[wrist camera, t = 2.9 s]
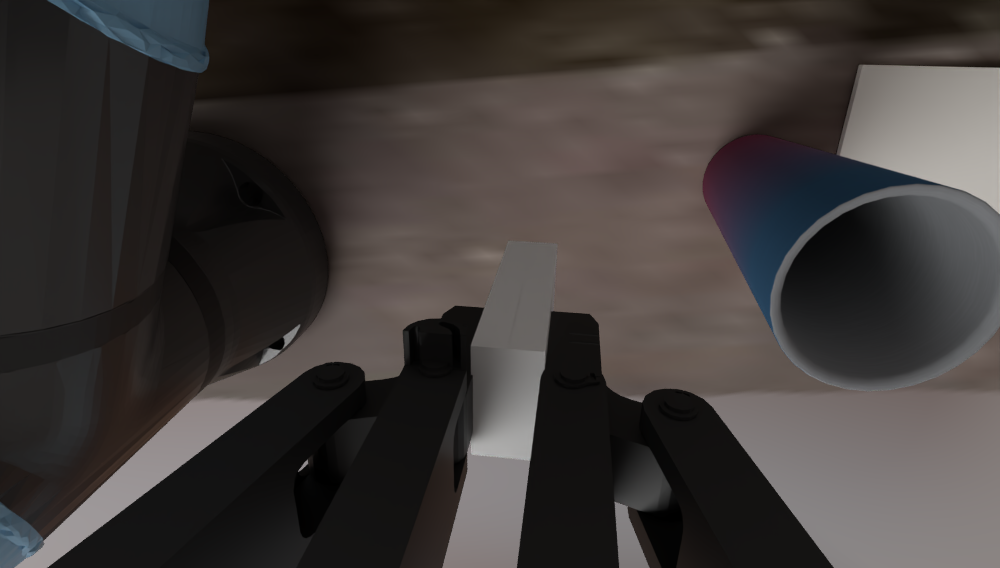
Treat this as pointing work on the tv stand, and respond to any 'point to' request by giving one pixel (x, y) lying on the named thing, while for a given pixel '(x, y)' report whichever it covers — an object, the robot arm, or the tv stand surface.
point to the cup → (858, 261)
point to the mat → (928, 125)
